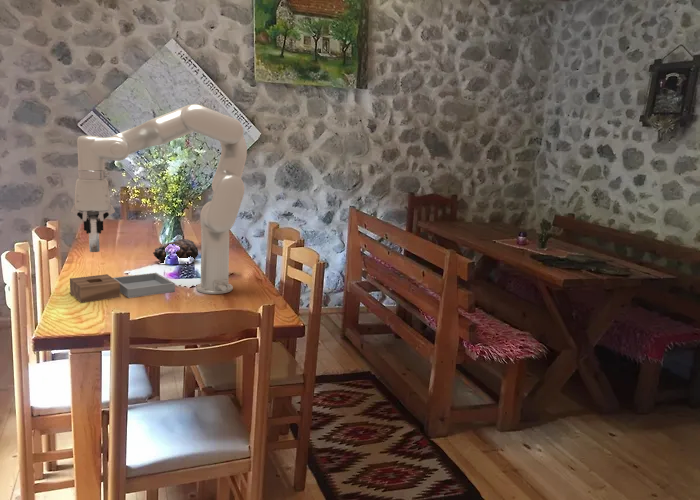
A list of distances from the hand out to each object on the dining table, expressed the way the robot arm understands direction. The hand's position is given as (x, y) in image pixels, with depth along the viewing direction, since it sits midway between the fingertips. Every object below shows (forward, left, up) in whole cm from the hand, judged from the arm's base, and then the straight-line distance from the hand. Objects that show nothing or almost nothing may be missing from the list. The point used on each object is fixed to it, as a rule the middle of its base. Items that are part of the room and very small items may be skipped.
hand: (93, 232), depth 188 cm
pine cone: (+30, -41, -21) cm, 55 cm away
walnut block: (0, 0, -21) cm, 21 cm away
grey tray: (0, -16, -21) cm, 26 cm away
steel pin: (0, 0, -6) cm, 6 cm away
